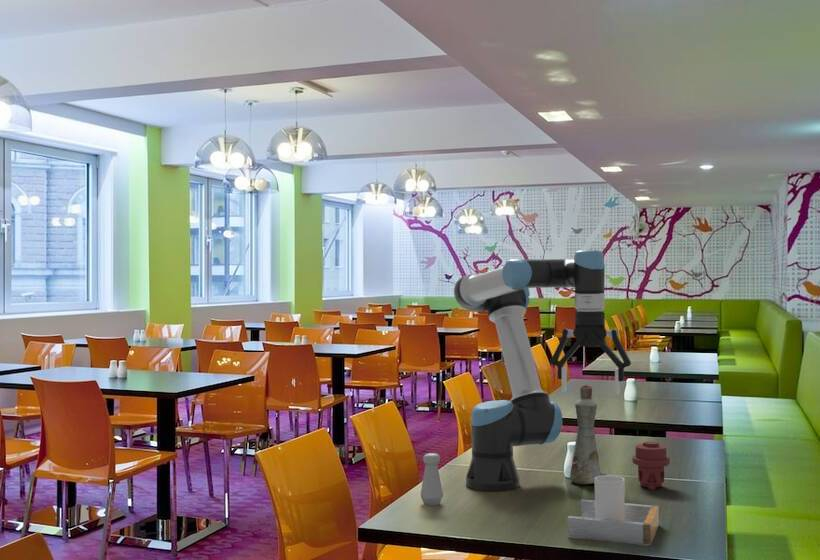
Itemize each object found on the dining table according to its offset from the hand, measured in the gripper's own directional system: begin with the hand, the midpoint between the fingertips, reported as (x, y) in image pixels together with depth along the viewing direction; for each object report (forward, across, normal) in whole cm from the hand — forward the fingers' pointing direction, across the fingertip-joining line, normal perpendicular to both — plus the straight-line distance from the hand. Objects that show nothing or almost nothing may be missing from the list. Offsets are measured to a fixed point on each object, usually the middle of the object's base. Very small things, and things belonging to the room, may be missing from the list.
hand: (590, 393), depth 222 cm
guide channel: (+29, +9, -22) cm, 37 cm away
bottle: (+29, -6, +24) cm, 38 cm away
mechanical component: (+29, +12, +25) cm, 40 cm away
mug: (+28, +8, -22) cm, 37 cm away
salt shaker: (+29, -39, -13) cm, 50 cm away
